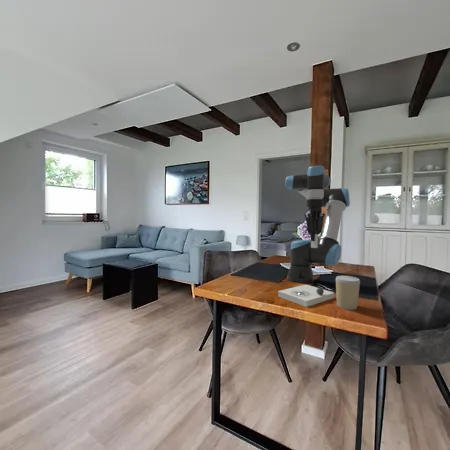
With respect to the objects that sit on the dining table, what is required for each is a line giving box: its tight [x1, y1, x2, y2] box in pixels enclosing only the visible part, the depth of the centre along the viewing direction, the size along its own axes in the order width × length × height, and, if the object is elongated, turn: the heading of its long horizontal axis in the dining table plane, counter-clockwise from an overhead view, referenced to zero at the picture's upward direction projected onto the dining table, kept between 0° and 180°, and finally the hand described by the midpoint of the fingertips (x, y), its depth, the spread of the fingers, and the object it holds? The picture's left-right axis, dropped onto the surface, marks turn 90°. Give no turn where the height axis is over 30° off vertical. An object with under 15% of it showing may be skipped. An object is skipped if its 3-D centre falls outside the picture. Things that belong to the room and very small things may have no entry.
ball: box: [317, 287, 324, 295], centre depth 115 cm, size 3×3×3 cm
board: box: [277, 284, 335, 308], centre depth 119 cm, size 20×16×2 cm
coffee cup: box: [335, 275, 361, 311], centre depth 107 cm, size 9×9×12 cm
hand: (314, 247), depth 124 cm, fingers closed
